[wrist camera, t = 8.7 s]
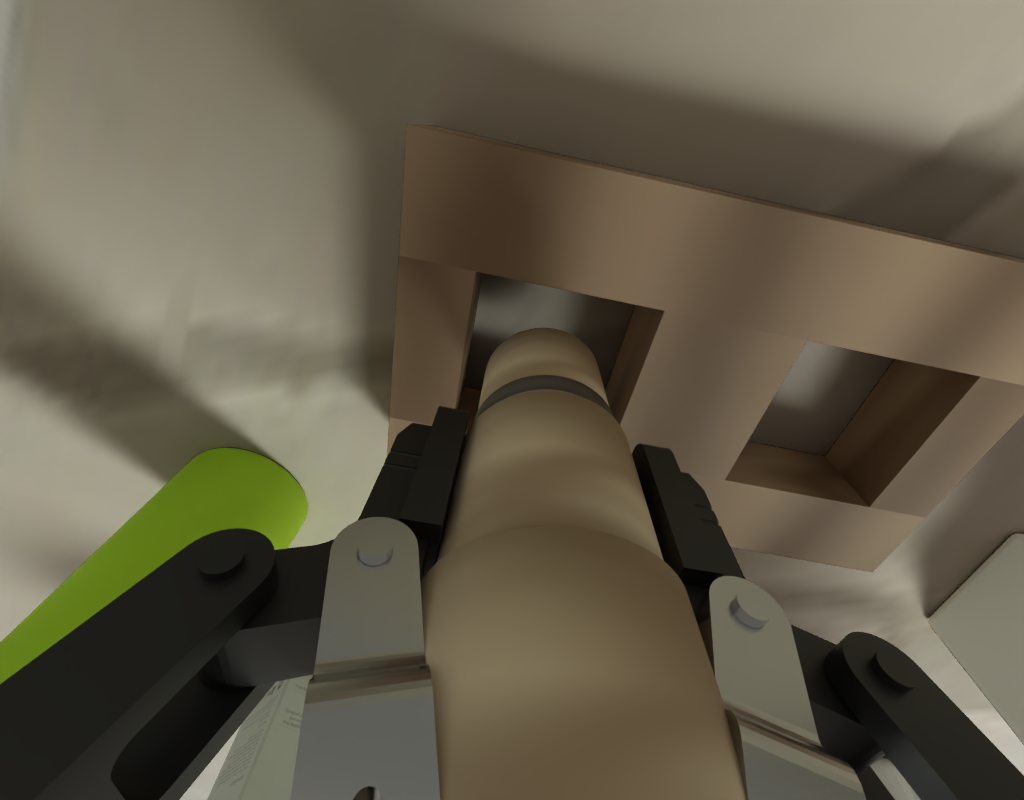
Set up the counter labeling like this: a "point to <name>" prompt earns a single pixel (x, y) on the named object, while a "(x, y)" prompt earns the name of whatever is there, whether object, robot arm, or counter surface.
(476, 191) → the board
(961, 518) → the counter surface
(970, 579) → the medicine bottle
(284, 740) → the skincare box
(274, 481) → the soap dispenser
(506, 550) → the peg
